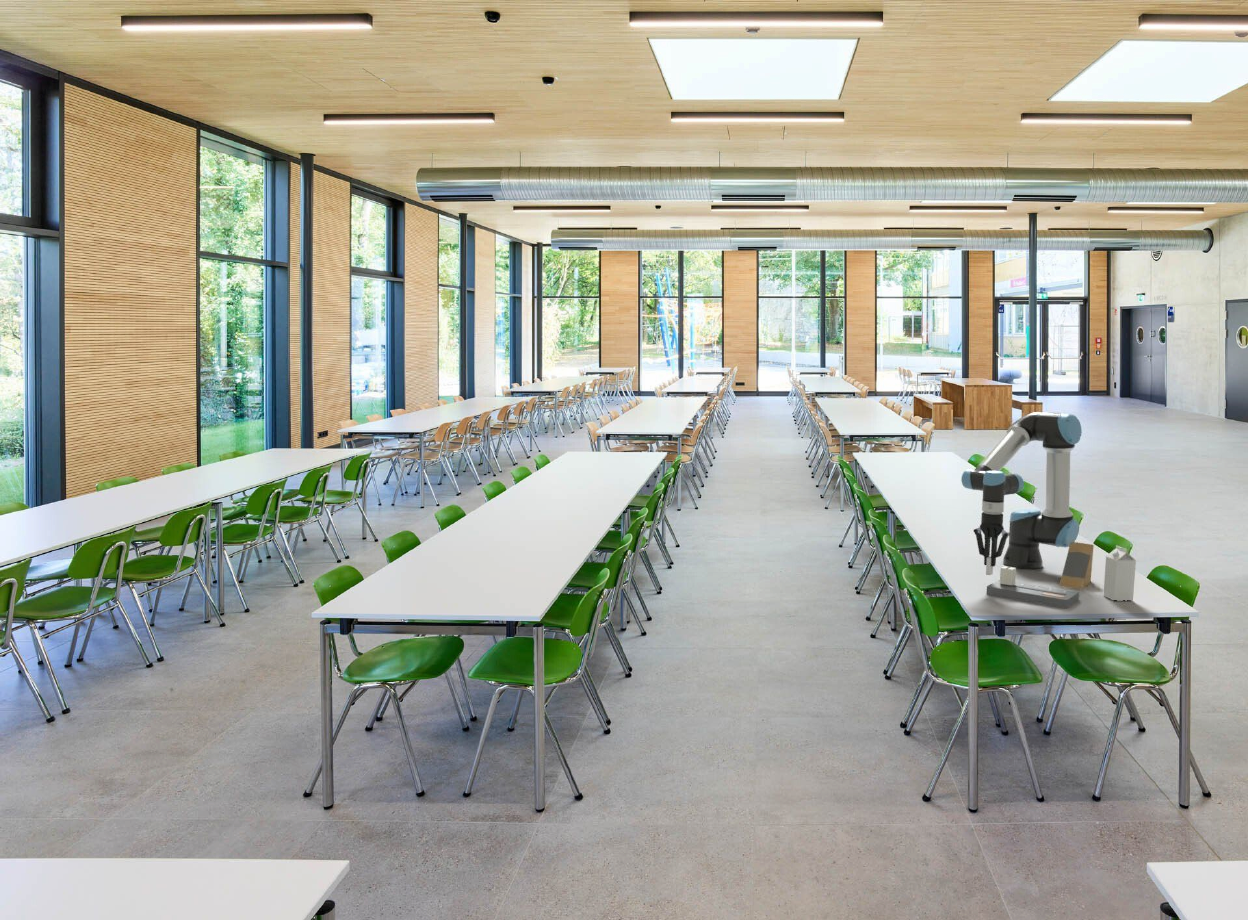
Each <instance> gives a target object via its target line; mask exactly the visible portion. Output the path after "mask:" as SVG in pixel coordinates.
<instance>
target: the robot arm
mask: <svg viewBox="0 0 1248 920" xmlns="http://www.w3.org/2000/svg"><path fill="white" fill-rule="evenodd" d="M1082 433H1083V432H1082V425H1081V422H1080V420H1079V418H1078V417H1077V416H1076V415H1074V414H1072V413H1065V412H1045V411H1044V412H1043V411H1034V412H1031V413H1028V414H1025V415H1023V416H1022V417H1020V418H1018V419H1016V421H1014V422H1013V423H1012V424H1011V425H1010V426H1009V427H1008V428H1007V430H1006V434H1005V435H1004V437H1003V438H1002V439H1001V440H999V442H998V443H997V444H996V445H995V447H993V449H991V451H990V452H989V453H988V454H987V455H986V456H985V458H984V459H983V460H982V461H980V463H979V464H978V465H977V466H976V468H974V469H973V468H972V469H966V470H964V471H963V473H962V474H961V480H960V481H961V484H962V486H963V488H965V489H969V490H973V491H980V492H981V491H982V501H981V502H982V503H981V505H982V506H981V511H982V513H981V520H980V521H981V523H980V525H979V526H978V527H977V528H973V533H974V535H975V537H976V543H977V544H976V545H977V548H978V552H979V555H980V556H983V557H984V558H983V565H984V566H986V567H985V575H987V576H991V575H993V574H994V567H995V566H996V564H997V558H999V557H1001V556H1002V555H1003V553H1004V552H1003V551H1004V548H1005V544H1006V542H1007V539H1008V546H1007V548H1006V550H1005V553H1004V555H1003V561H1002V563H1003V564H1004V566H1007V567H1013V568H1016V569H1026V570H1027V569H1028V570H1030V569H1031V570H1032V569H1035V570H1036V569H1041V568H1043V563H1044V562H1043V559H1042V555H1041V554H1042V553H1041V551H1040V544H1042V545H1047V546H1048V545H1049V546H1052V547H1054V546H1055V547H1057V548H1069V545H1070V542H1076V540H1077V538H1078V536H1079V533H1080V524H1079V521H1078V520H1076V519H1074V513H1073V512H1072V511H1071V510H1070V491H1071V490H1070V488H1071V487H1070V484H1071V483H1070V481H1071V480H1070V479H1071V478H1070V477H1071V451H1073V450H1074V449H1075V447H1076V445H1077V444H1078V443H1079V442H1080V440H1081V437H1082ZM1033 441H1035V442H1036V441H1038V442H1042V448H1043V449H1044V450H1045V451H1046V465H1045V466H1046V469H1045V470H1046V472H1045V473H1046V474H1045V475H1046V478H1045V480H1046V481H1045V509H1044V510H1043V511H1041V510H1038V509H1020V510H1015V511H1012V512H1011V513H1010V518H1009V529H1008V531H1009V532H1007V531H1006V530H1005V528H1004V525H1003V524H1004V514H1003V513H1004V507H1005V496H1008V495H1015V494H1017V493H1019V492H1021V491H1022V490H1023V489H1024V487H1025V486H1024V485H1025V481H1024V479H1023V477H1022V476H1021V475H1019V474H1017V473H1005V472H1004V471H1001V470H1003V468H1004V467H1005V466H1006V465H1007V464H1008V463H1009V461H1010V460H1012V458H1013V457H1014V456H1015V455H1016V453H1018V451H1019V450H1020V449H1021V448H1022V447H1024V446H1027V445H1028V444H1030V443H1031V442H1033ZM982 533H983V535H984V536H983V535H982ZM1000 535H1001V538H1000V541H999V544H998V540H999V539H998V538H999V536H1000ZM983 537H984V540H983Z"/></svg>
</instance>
